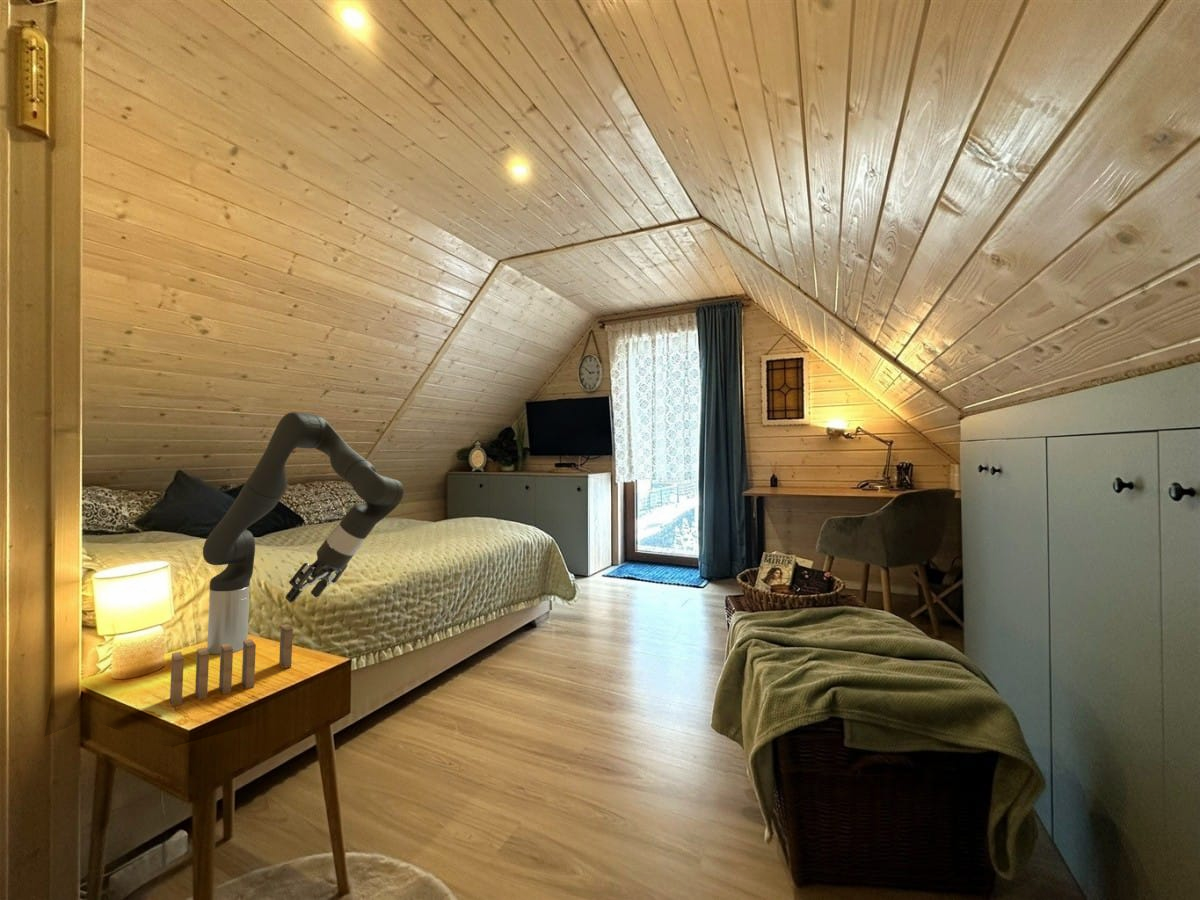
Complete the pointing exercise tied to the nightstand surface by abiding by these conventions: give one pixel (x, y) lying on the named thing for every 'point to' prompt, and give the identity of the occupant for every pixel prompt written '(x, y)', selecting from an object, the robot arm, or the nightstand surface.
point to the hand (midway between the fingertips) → (301, 597)
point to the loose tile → (286, 646)
